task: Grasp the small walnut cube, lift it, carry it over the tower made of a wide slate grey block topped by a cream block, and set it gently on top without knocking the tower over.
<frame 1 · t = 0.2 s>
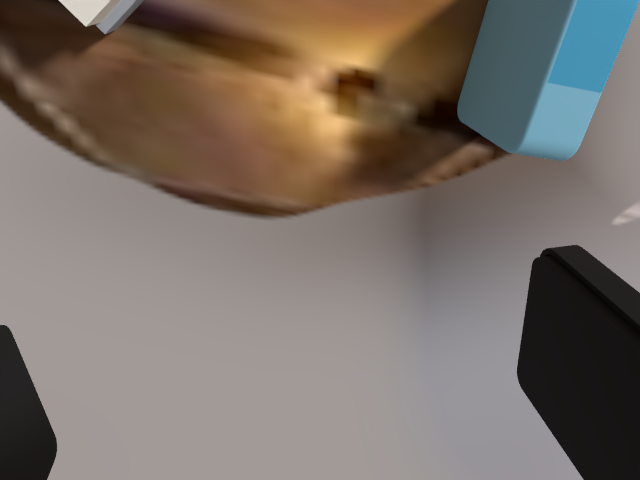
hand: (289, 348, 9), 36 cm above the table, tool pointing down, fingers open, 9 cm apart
data package: (496, 51, 44), on the table
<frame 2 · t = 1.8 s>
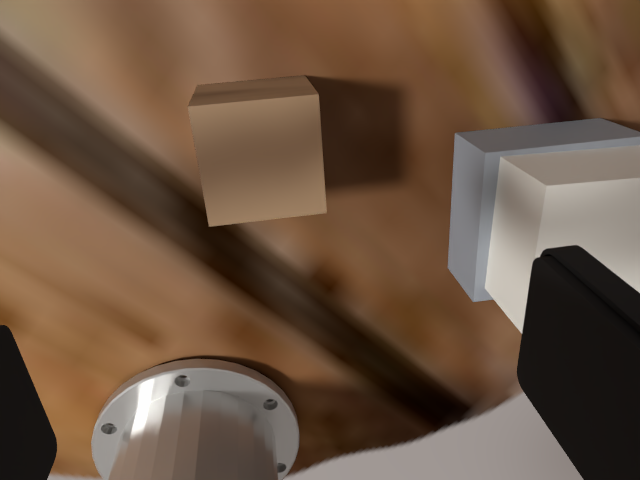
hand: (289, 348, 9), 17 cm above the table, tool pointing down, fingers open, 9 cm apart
tower base: (517, 194, 29), on the table, touching tower top
tower top: (560, 219, 25), point 4 cm above the table, touching tower base
walnut cube: (258, 132, 25), on the table
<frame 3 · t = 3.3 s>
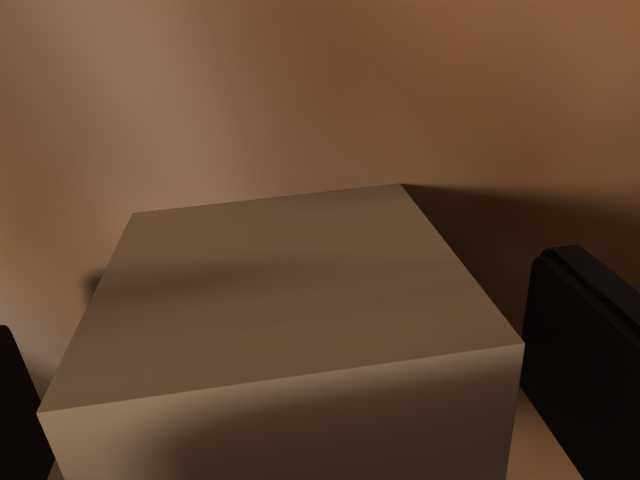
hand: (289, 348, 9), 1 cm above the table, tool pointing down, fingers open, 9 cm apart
walnut cube: (282, 306, 11), on the table
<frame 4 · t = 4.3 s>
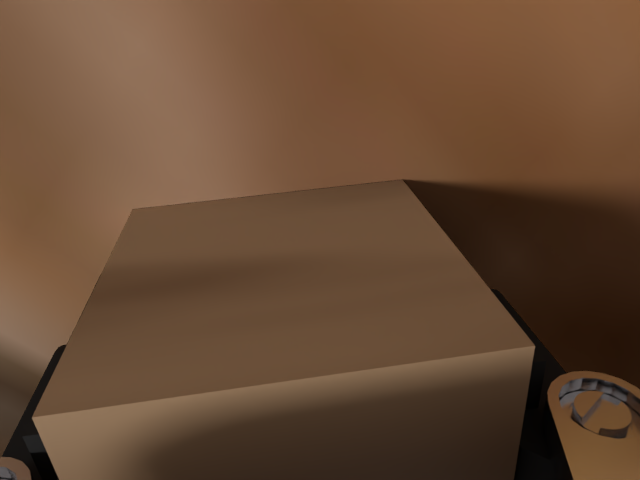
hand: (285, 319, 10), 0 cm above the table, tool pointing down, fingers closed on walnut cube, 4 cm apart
walnut cube: (283, 306, 11), on the table, touching gripper
when the fingers open (10 cm above the table, at t = 11.4 s): walnut cube drops 2 cm, resting on tower top.
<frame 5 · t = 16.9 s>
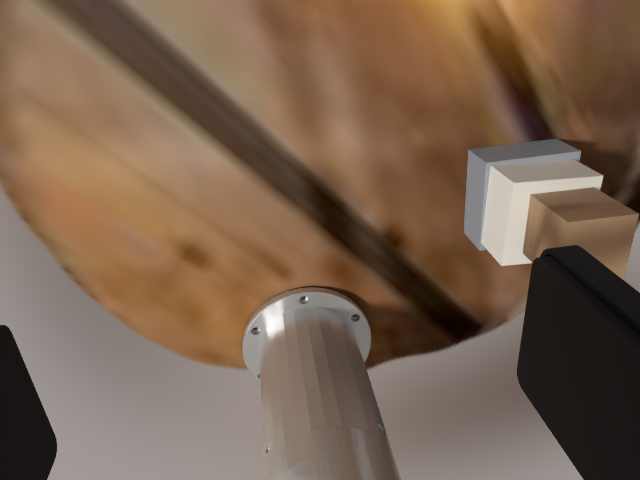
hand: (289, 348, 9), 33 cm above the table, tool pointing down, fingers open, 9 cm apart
tower base: (507, 185, 47), on the table, touching tower top
tower top: (525, 202, 43), point 4 cm above the table, touching tower base, walnut cube
walnut cube: (557, 220, 40), point 8 cm above the table, touching tower top
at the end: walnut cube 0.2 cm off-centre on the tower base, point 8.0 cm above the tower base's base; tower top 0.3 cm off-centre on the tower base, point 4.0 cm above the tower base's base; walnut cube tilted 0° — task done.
